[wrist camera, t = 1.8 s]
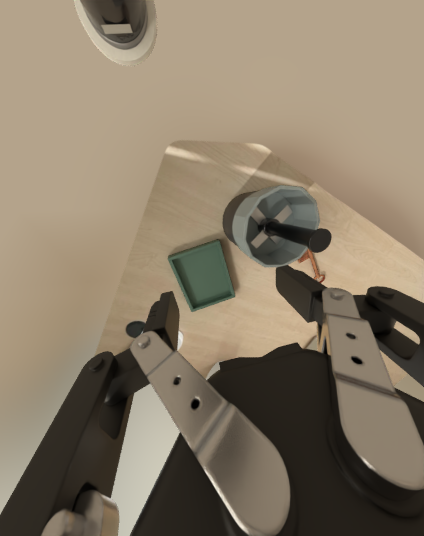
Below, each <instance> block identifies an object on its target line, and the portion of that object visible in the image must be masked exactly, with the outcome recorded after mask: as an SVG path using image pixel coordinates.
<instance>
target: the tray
mask: <svg viewBox="0 0 424 536" xmlns="http://www.w3.org/2000/svg"><path fill="white" fill-rule="evenodd" d="M168 261H169V263H170V265H171V267H172V270H173V272H174V274H175V276H176V278H177V281H178V283H179V285H180V287H181V290H182V292H183V294H184V296H185V298H186V301H187V303H188V305H189V307H190V310H191V312H193V311H196V310H199V309H202V308H205V307H208V306H211V305H214V304H216V303H219V302H222V301H225V300H228V299H231V298H234V297H235V293H234V290H233V286H232V283H231V279H230V276H229V272H228V269H227V265H226V262H225V258H224V255H223V251H222V248H221V244H220V241H219V240H218V239H217V240H214V241H211V242H208V243H205V244H202V245H199V246H196V247H193V248H190V249H187V250H184V251H181V252H178V253H175V254H172V255H169V256H168Z"/></svg>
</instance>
